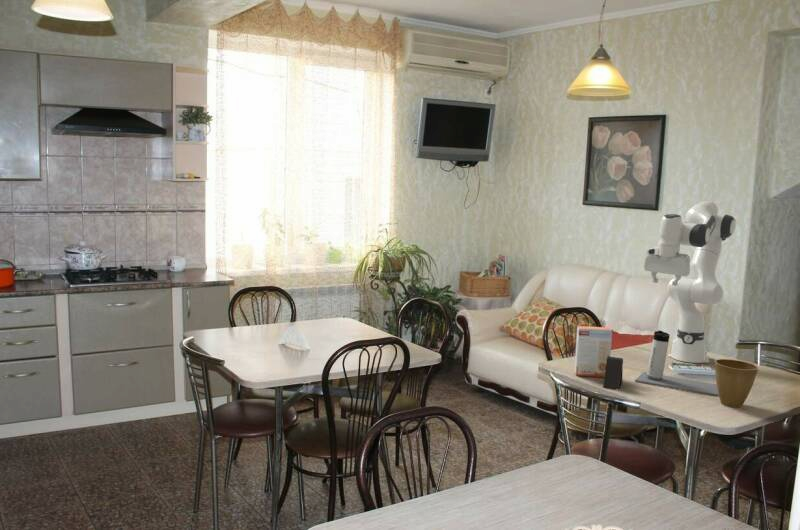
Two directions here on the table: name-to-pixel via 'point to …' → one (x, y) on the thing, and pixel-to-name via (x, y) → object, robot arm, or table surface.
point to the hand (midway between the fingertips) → (664, 284)
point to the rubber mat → (681, 384)
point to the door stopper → (613, 373)
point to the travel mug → (658, 355)
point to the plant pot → (734, 381)
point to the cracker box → (592, 350)
